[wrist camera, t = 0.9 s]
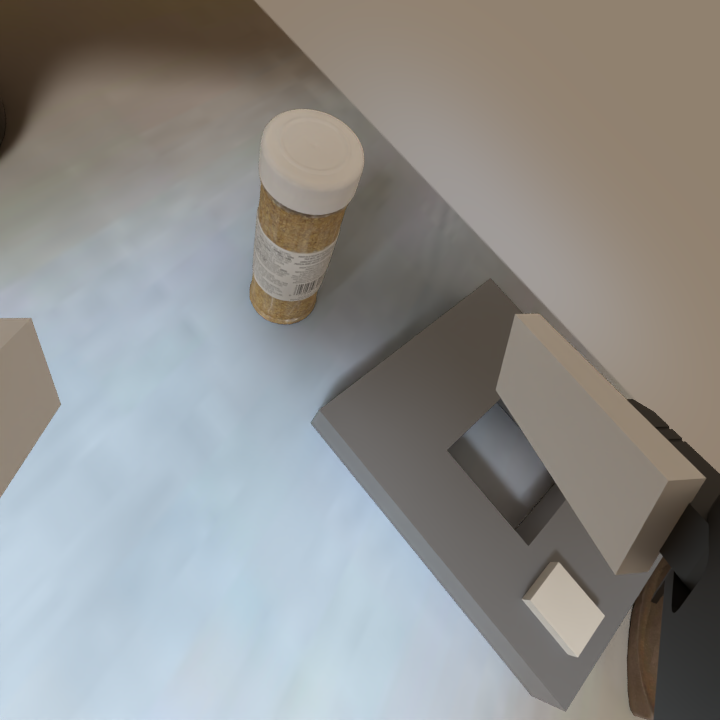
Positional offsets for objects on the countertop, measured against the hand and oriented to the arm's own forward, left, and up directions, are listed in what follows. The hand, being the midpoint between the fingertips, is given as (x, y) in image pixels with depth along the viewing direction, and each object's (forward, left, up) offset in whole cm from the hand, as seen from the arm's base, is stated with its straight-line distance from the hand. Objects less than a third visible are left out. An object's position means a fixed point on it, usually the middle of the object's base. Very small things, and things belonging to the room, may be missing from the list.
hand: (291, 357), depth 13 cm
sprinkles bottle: (-8, +8, -16) cm, 20 cm away
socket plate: (+10, +12, -16) cm, 22 cm away
